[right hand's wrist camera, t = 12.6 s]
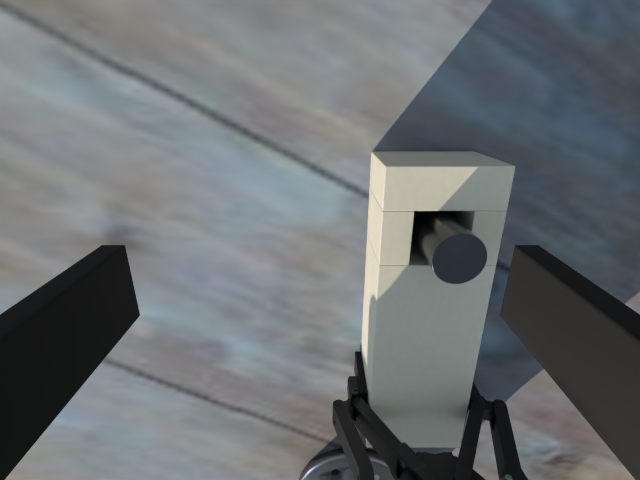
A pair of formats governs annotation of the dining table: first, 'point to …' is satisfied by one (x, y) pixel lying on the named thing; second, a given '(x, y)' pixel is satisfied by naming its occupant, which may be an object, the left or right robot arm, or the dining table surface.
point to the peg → (448, 246)
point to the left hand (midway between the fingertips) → (401, 360)
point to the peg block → (427, 291)
